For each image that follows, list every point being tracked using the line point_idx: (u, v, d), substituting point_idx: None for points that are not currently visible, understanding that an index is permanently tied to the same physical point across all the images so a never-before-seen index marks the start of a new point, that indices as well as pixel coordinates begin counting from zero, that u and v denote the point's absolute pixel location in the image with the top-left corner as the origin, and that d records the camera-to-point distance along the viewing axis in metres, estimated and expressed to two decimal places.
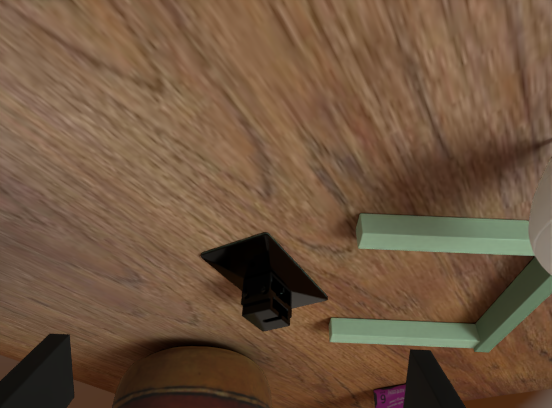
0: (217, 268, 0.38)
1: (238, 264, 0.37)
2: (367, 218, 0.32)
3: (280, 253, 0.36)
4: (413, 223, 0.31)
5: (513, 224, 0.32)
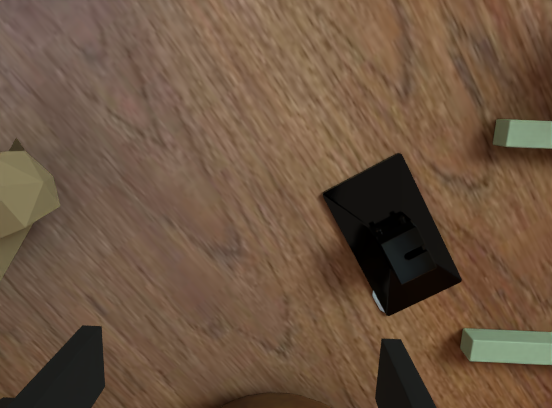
0: (338, 215, 0.33)
1: (365, 203, 0.33)
2: None
3: (412, 184, 0.33)
4: None
5: None
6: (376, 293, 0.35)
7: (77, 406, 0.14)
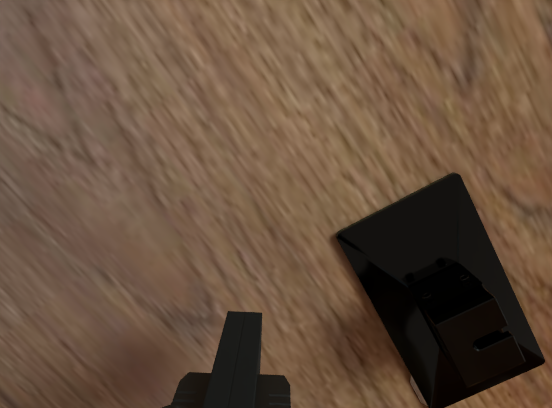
0: (360, 268, 0.22)
1: (402, 250, 0.21)
2: None
3: (475, 221, 0.21)
4: None
5: None
6: (416, 380, 0.24)
7: None
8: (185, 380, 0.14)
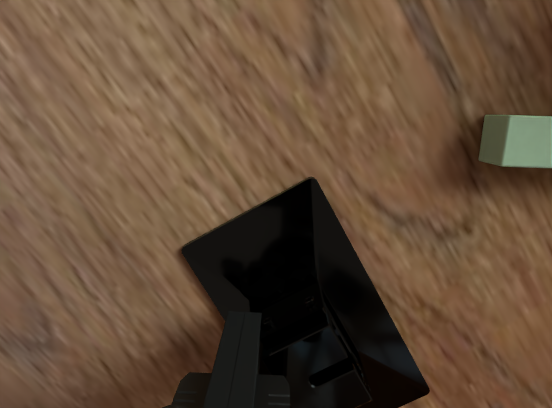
0: (210, 286, 0.19)
1: (254, 266, 0.19)
2: None
3: (337, 232, 0.18)
4: None
5: None
6: None
7: None
8: (185, 380, 0.14)
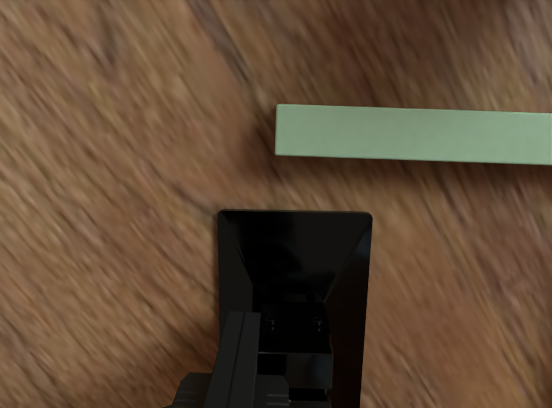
0: (225, 258, 0.19)
1: (276, 262, 0.19)
2: None
3: (363, 272, 0.19)
4: None
5: None
6: None
7: None
8: (186, 380, 0.14)
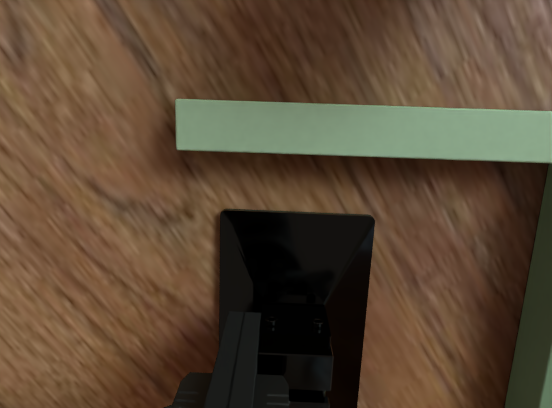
0: (227, 258, 0.19)
1: (277, 262, 0.19)
2: None
3: (364, 275, 0.19)
4: None
5: None
6: None
7: None
8: (186, 380, 0.14)
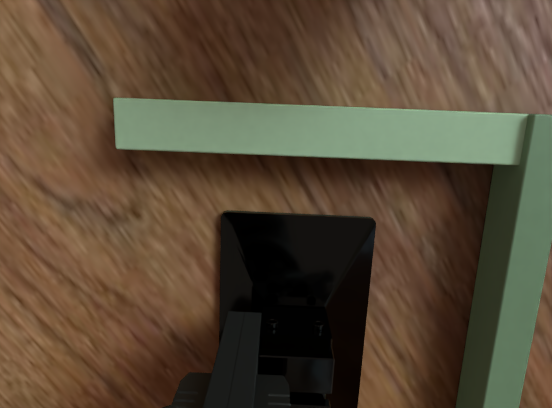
0: (227, 260, 0.19)
1: (278, 264, 0.19)
2: None
3: (364, 277, 0.19)
4: None
5: None
6: None
7: None
8: (186, 379, 0.14)
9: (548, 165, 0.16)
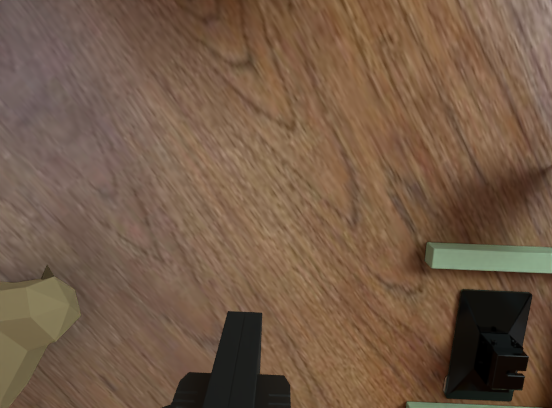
0: (463, 311, 0.41)
1: (487, 314, 0.41)
2: (434, 243, 0.40)
3: (525, 319, 0.41)
4: (471, 246, 0.39)
5: (550, 248, 0.40)
6: (450, 378, 0.43)
7: None
8: (185, 380, 0.14)
9: None
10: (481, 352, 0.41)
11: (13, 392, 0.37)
